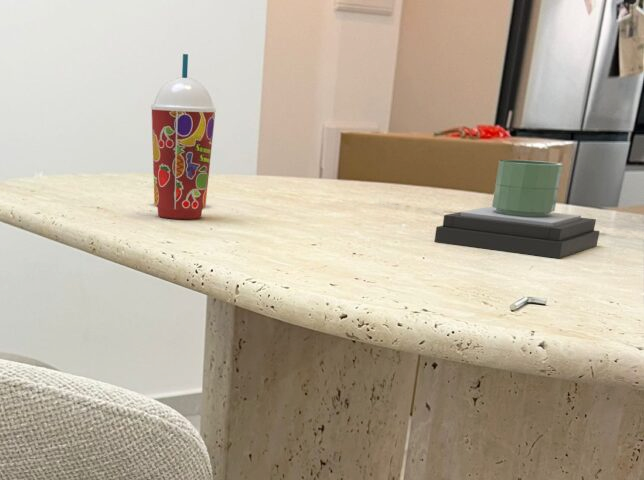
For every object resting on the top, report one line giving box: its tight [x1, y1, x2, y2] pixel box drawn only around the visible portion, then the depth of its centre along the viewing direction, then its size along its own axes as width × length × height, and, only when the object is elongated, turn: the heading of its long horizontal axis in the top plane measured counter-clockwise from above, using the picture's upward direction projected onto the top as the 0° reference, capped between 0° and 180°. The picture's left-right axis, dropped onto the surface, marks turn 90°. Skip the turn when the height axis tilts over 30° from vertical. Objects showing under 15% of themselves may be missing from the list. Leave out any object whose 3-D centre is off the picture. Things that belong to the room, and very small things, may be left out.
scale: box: [434, 207, 600, 260], centre depth 115 cm, size 15×15×3 cm
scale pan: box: [460, 206, 582, 227], centre depth 115 cm, size 11×11×2 cm
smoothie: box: [150, 53, 217, 220], centre depth 122 cm, size 8×8×20 cm
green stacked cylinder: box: [491, 159, 564, 217], centre depth 113 cm, size 7×7×6 cm
